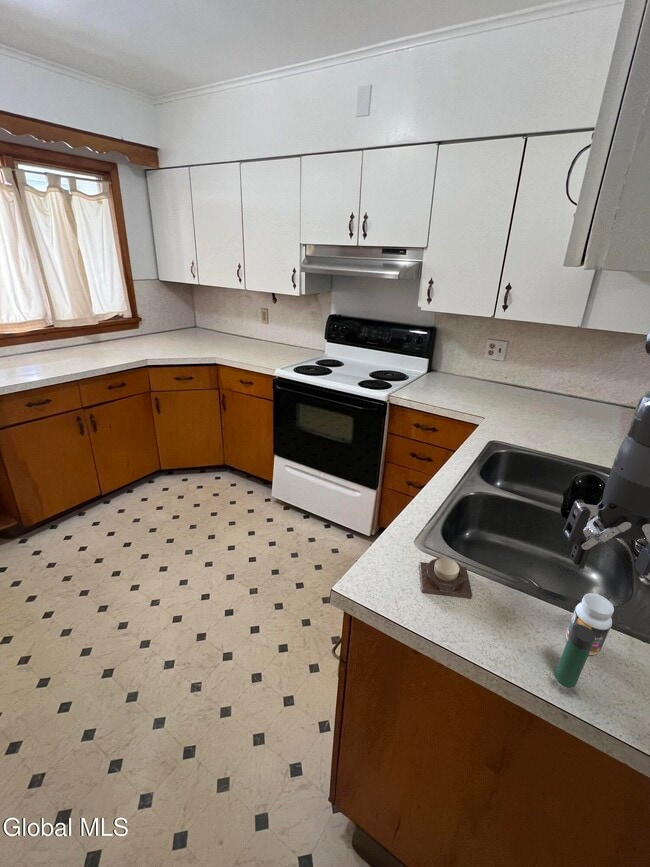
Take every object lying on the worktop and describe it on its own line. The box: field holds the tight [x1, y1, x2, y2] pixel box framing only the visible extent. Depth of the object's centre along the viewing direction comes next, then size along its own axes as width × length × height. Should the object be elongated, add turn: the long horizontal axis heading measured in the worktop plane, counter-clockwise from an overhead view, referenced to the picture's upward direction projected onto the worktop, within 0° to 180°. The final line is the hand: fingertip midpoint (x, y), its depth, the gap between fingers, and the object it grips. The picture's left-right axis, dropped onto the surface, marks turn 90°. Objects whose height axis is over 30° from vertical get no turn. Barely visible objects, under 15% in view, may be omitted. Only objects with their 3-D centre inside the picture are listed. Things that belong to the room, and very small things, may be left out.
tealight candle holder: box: [419, 557, 473, 600], centre depth 90 cm, size 10×8×3 cm
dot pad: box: [434, 557, 459, 581], centre depth 89 cm, size 5×5×2 cm
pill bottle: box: [565, 592, 615, 656], centre depth 76 cm, size 6×6×10 cm
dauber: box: [554, 625, 595, 688], centre depth 69 cm, size 3×3×11 cm
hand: (609, 568), depth 61 cm, fingers open, 8 cm apart
